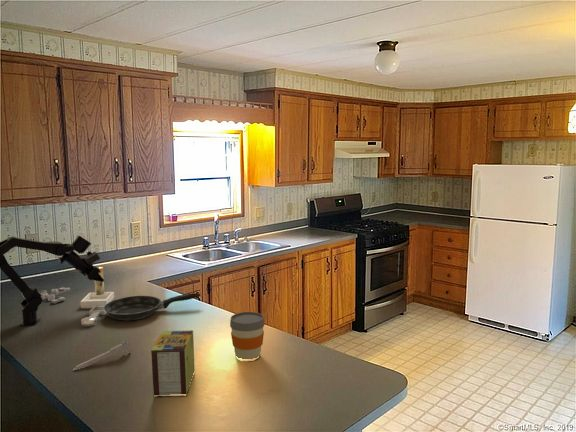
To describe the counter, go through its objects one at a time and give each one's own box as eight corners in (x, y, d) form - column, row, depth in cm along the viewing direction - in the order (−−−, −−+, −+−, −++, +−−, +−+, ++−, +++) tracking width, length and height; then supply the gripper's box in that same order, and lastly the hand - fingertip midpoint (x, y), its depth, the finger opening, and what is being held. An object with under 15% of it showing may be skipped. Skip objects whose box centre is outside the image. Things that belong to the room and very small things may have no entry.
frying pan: (102, 327, 200) (101, 312, 199) (107, 308, 224) (106, 294, 223) (204, 316, 213) (203, 302, 212) (198, 299, 237) (198, 286, 236)
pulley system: (30, 308, 227) (64, 303, 231) (29, 299, 226) (63, 294, 231) (41, 294, 252) (71, 290, 257) (40, 286, 252) (70, 281, 256)
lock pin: (104, 294, 221) (102, 268, 220) (95, 295, 220) (93, 268, 218) (104, 292, 225) (103, 266, 223) (95, 293, 224) (94, 266, 222)
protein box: (195, 373, 158) (193, 329, 156) (186, 397, 143) (185, 349, 141) (164, 373, 158) (162, 330, 156) (152, 397, 143) (150, 350, 140)
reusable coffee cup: (233, 366, 163) (232, 325, 161) (228, 351, 175) (227, 313, 173) (268, 361, 166) (267, 321, 164) (261, 347, 178) (260, 310, 176)
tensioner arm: (95, 326, 200) (94, 321, 200) (78, 327, 200) (78, 321, 199) (108, 309, 221) (108, 304, 221) (93, 310, 221) (93, 305, 220)
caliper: (130, 354, 174) (129, 338, 173) (131, 354, 173) (130, 338, 172) (72, 370, 161) (71, 353, 160) (73, 371, 160) (72, 354, 159)
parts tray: (106, 307, 225) (106, 300, 224) (80, 308, 223) (80, 301, 223) (114, 298, 238) (113, 291, 238) (90, 299, 237) (89, 292, 237)
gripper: (94, 250, 210) (119, 270, 218) (82, 244, 224) (107, 263, 233) (76, 270, 206) (103, 289, 214) (66, 262, 221) (92, 281, 229)
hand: (102, 280), depth 223 cm, fingers closed on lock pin, 4 cm apart
